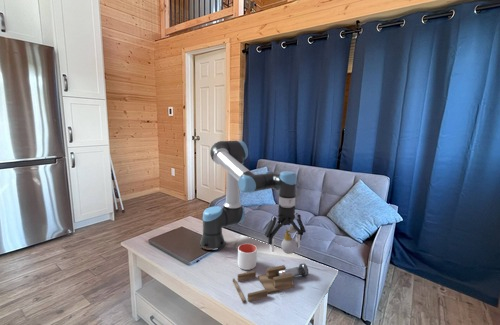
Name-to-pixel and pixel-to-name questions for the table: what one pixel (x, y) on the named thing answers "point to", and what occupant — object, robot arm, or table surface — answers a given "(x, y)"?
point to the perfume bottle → (289, 241)
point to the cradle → (266, 283)
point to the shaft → (295, 271)
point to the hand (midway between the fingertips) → (284, 248)
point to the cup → (247, 256)
